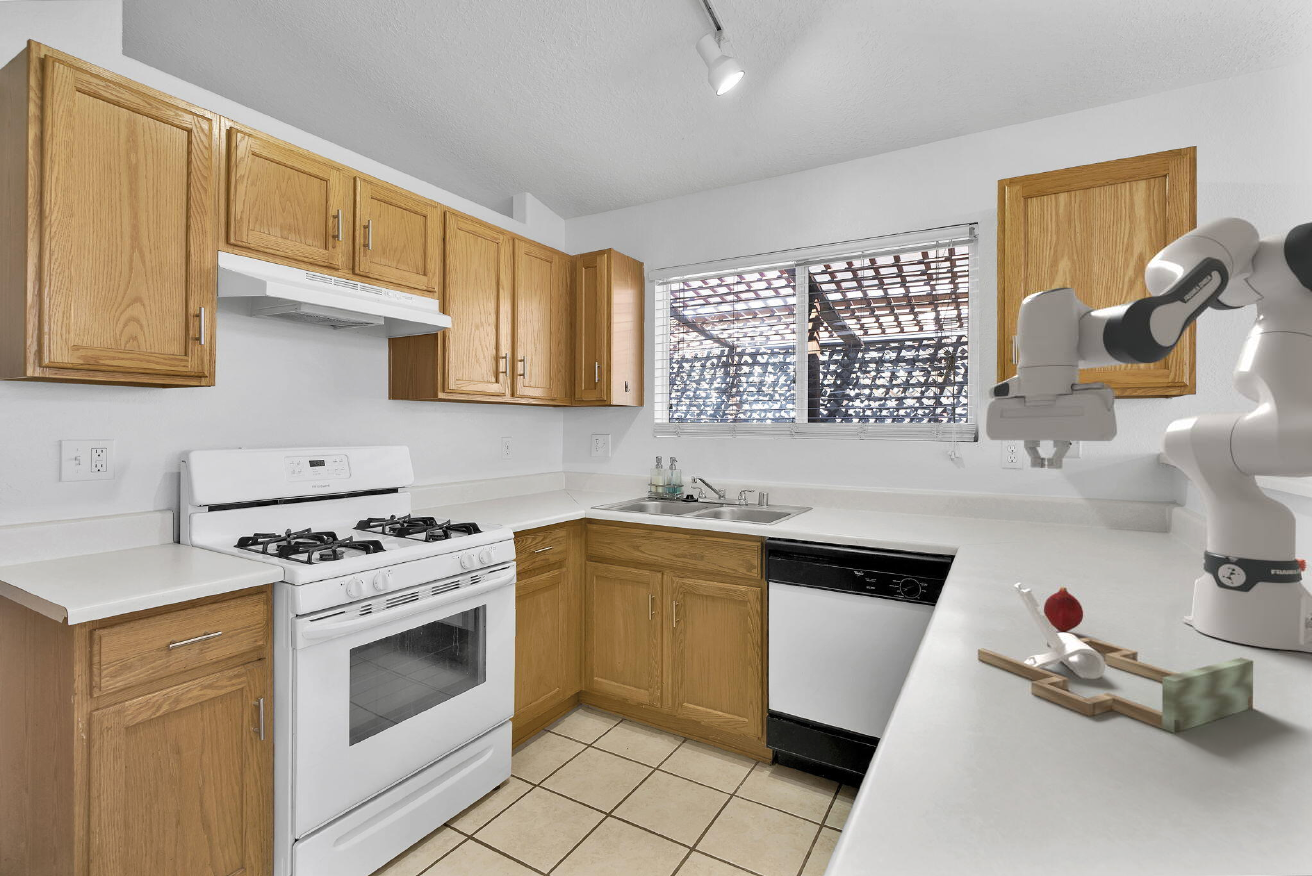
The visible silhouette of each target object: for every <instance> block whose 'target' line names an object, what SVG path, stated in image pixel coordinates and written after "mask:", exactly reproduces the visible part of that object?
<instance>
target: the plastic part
mask: <svg viewBox="0 0 1312 876" xmlns="http://www.w3.org/2000/svg"><path fill="white" fill-rule="evenodd" d="M1013 586H1014V588H1015V590H1016V592H1017V594H1018V595H1019V596H1020V598H1021V600H1022V602H1023V603H1024V605H1025V606H1026V608H1027V610H1028V612H1029V613H1030V615H1031V617H1032V618H1033V620H1034V622H1035V623H1036V625H1037V627H1038V628H1039V630H1040V632H1041V634H1042V635H1043V637H1044V638H1045V641H1046V642H1048V643H1049V645H1050V646H1049V647H1050V649H1051V651H1049V652H1047V653H1043V654H1037V655H1031V656H1029V657H1027V659H1025V660H1024V662H1023V663H1026V664H1029V665H1032V666H1035V667H1037V668H1040V669H1043V668H1044V667H1045V668H1046V667H1049V666H1052V665H1056V664H1058V663H1061V662H1062V663H1063V664H1064V665H1065V666H1067V667H1068V668H1069V669H1070V670H1071V671H1073V672H1074V673H1075V674H1076V675H1077V676H1079V678H1082V679H1093V680H1094V679H1095V680H1097V679H1099V678H1100V677H1102V676H1103V675H1104V673H1105V670H1106V662H1105V661H1104V659H1103V657H1102V656H1101V655H1100V654H1099V653H1098V652H1096V651H1095V650H1094V649H1092V648H1091V647H1090V646H1088V645H1087V644H1085V643H1083V642H1082V641H1080V639H1081V638H1079V637H1078V636H1076V635H1075V634H1072V633H1069V632H1065V633H1062V632H1057V631H1056V628H1055V627H1054V626H1053V625H1052V624H1051V623H1050V621H1049V620H1048V618H1047V617H1046V615H1045V614H1044V613H1043V614H1041V613H1040V611H1039V610H1038V608H1039V607H1040V604H1039V603H1038V601H1037V600H1036V598H1035V597H1034V594H1033V593H1032V589H1030V588H1027V589H1023V588H1022V583H1020V582H1017V583H1016V584H1014V585H1013Z"/></svg>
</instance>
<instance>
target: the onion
mask: <svg viewBox="0 0 1312 876" xmlns="http://www.w3.org/2000/svg"><path fill="white" fill-rule="evenodd" d="M1043 614H1045V615H1046V617H1047V618H1048V620H1049V621H1050V623H1051V624H1052V626H1053V627H1054V629H1055V630H1058V632H1059V633H1068V632H1069V631H1071V630H1073V629H1075V628H1077V627H1078V626H1079V625H1080V624H1081V623H1082V621H1083V618H1084V610H1083V606H1082V605H1081V603H1080V601H1079V600H1078V599H1077V598H1076V597H1075V596H1073V594H1070V593H1069V592H1068V590H1067V587H1065V586H1061V587H1059V590H1058V591H1057V592H1055V593H1053V594H1051V595H1050V596H1049V597H1048V598H1046V600H1045V602H1044V606H1043Z"/></svg>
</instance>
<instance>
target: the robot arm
mask: <svg viewBox="0 0 1312 876" xmlns="http://www.w3.org/2000/svg"><path fill="white" fill-rule="evenodd" d="M1144 271H1145V272H1144V283H1145V286H1146V288H1147V290H1148V292H1149V293H1150V295H1151V296H1147V297H1144V298H1143V297H1141V298H1140V299H1135V300H1131V301H1129V302H1125V303H1122V304H1118V305H1117V304H1116V305H1113V306H1109V307H1104V308H1100V309H1096V308H1093V307H1090V306H1089V305H1086V304H1085V303H1083V302H1082V301H1081V300H1080V299H1079V298H1078V297H1077V295H1076V292H1075V289H1074V288H1072V287H1057V288H1051V289H1048V290H1043V291H1038V292H1036V293H1032V294H1030V295H1028V296H1027V297H1026V298H1024V299H1023V300H1022V302H1021V305H1020V307H1019V311H1018V318H1017V326H1016V327H1017V329H1016V347H1017V349H1018V352H1019V353H1018V354H1019V358H1018V363H1017V365H1016V375H1015V376H1012V377H1011V378H1008V379H1006V380H1004V381H1002V382H999V383H997V384H994V385H992V386H990V387H989V389H988V396H989V398H990V399H992V400H991V401H990V403H989V404H988V406H987V410H986V411H987V412H986V419H985V420H986V421H985V422H986V424H985V426H986V427H985V428H986V429H985V432H986V433H985V434H986V435H987V437H988V438H989V439H990V441H1023V447H1024V450H1025V451H1026V454H1027V455H1028V456H1029V458H1030V467H1031V468H1033V469H1045V468H1046V467H1047V469H1051V470H1052V469H1053V470H1061V469H1063V459H1064V458H1065V456H1066V454H1067V453H1068V452H1069V450H1070V449H1071V442H1074V441H1075V442H1111V441H1113V440H1114V439H1115V437H1116V436H1117V432H1118V426H1117V425H1118V424H1117V417H1116V411H1115V395H1116V394H1115V391H1114V389H1113V388H1112V387H1111V386H1110V385H1108V384H1106V383H1105V382H1100V381H1096V382H1093V383H1091V382H1090V383H1088V382H1087V383H1086V382H1082V383H1079V382H1080V369H1081V370H1084V369H1085V370H1086V369H1094V368H1103V367H1112V366H1120V365H1137V364H1138V365H1139V364H1153V363H1158V362H1160V361H1162V360H1164V359H1166V357H1168V356H1169V355H1170V354H1171V353H1172V352H1173V350H1174V349H1176V347H1177V345H1178V343H1179V342H1180V340H1181V338H1182V336H1183V335H1184V333H1185V332H1186V330H1187V329H1188V328H1189V326H1191V324H1193V322H1194V321H1196V320H1197V318H1199V316H1200V315H1202V314H1203V313H1204V312H1205V311H1206V310H1207V309H1208V308H1210V309H1212V310H1216V311H1230V310H1237V309H1242V308H1244V307H1246V306H1251V305H1256V312H1257V314H1256V315H1257V316H1256V318H1255V320H1254V322H1253V324H1252V325H1251V327H1250V329H1249V332H1248V334H1247V335H1246V338H1245V341H1244V343H1243V345H1242V348H1241V351H1240V354H1239V357H1238V359H1237V362H1236V365H1235V367H1234V370H1233V373H1232V376H1231V378H1232V383H1233V386H1234V388H1235V389H1236V391H1237V392H1238V393H1239V394H1241V395H1242V396H1243V397H1245V398H1247V399H1249V400H1250V401H1252V402H1255V403H1258V405H1257V407H1256V408H1255V409H1254V410H1253V411H1248V412H1225V413H1224V412H1220V413H1217V412H1216V413H1215V412H1214V413H1211V412H1210V413H1202V414H1197V415H1191V416H1187V417H1183V418H1178V419H1175V420H1174V421H1172V422H1171V423H1170V424H1169V425H1168V427H1167V428H1166V430H1165V432H1164V434H1163V436H1162V443H1161V445H1162V450H1163V453H1164V455H1165V457H1166V459H1167V460H1168V462H1170V464H1171V465H1173V466H1174V467H1175V468H1177V469H1178V470H1180V471H1181V472H1183V473H1184V474H1185V475H1186V476H1187V477H1188V478H1189V480H1190V481H1191V482H1192V483H1193V485H1194V486H1195V487H1196V489H1197V491H1198V493H1199V495H1200V497H1201V499H1202V503H1203V505H1204V510H1205V519H1206V520H1205V521H1206V535H1207V536H1206V537H1207V538H1206V539H1207V540H1206V541H1207V542H1206V543H1207V544H1206V550H1205V551H1204V553H1203V558H1202V563H1203V571H1204V572H1205V573H1204V574H1203V575H1202V576H1200V577H1199V578H1197V579H1196V580H1195V583H1194V590H1193V599H1192V608H1191V609H1192V610H1191V615H1185V616H1183V621H1182V622H1183V623H1185V624H1187V625H1190V626H1192V627H1193V628H1194V629H1195V630H1196V631H1197V632H1200V633H1202V634H1204V635H1207V636H1210V637H1214V638H1217V639H1221V640H1225V641H1229V642H1233V643H1237V644H1243V645H1247V646H1248V645H1249V646H1254V647H1259V648H1267V649H1276V650H1277V649H1278V650H1287V651H1289V650H1290V651H1299V652H1306V653H1312V594H1311V592H1309V590H1308V589H1307V588H1306V587H1305V586H1304V585H1303V584H1302V582H1301V581H1303V576H1302V572H1304V571H1306V568H1307V562H1306V560H1305V559H1303V558H1299V559H1298V558H1296V548H1297V547H1296V540H1297V539H1296V533H1297V532H1296V531H1297V529H1296V528H1297V525H1296V523H1297V522H1296V521H1297V519H1296V517H1295V515H1294V513H1293V512H1292V511H1291V509H1290V508H1288V506H1286V505H1285V504H1283V503H1282V502H1280V501H1278V500H1276V499H1274V498H1272V497H1269V496H1268V495H1266V494H1265V493H1264V492H1263V491H1262V490H1261V489H1260V487H1259V485H1258V484H1257V481H1256V476H1258V477H1260V476H1262V477H1279V478H1281V477H1282V478H1298V479H1299V478H1300V479H1301V478H1311V477H1312V221H1311V222H1307V223H1302V224H1299V225H1298V224H1297V225H1296V226H1294V227H1293V228H1290V229H1286V230H1284V231H1279V232H1277V233H1273V234H1271V235H1268V236H1267V235H1266V236H1265V237H1262V238H1260V235H1259V232H1258V230H1257V228H1256V227H1255V226H1254V225H1253V224H1252V223H1250V222H1249V221H1247V220H1245V219H1242V218H1238V217H1223V218H1222V217H1221V218H1218V219H1215V220H1211V221H1210V222H1207V223H1205V224H1202V225H1199V226H1198V227H1195V228H1194V229H1192V230H1190V231H1189V232H1186V233H1185V234H1183V235H1182V236H1180V237H1178V238H1177V239H1175V240H1174V241H1172V242H1171V243H1170V244H1168V245H1167V246H1166V247H1164V248H1163V249H1161V250H1160V251H1159V252H1158V253H1157V254H1156V255H1155V256H1154V257H1153V258H1152V259H1151V260H1150V262H1149V263H1148V264H1147V265H1146V267H1145V270H1144ZM1041 441H1043V442H1045V441H1047V442H1048V441H1050V442H1051V441H1052V442H1053V443H1052V444H1053V448H1055V450H1054V453H1053V454H1052V457H1042V455H1041V453H1040V452H1039V450H1038V448H1040V447H1041Z"/></svg>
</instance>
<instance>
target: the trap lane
mask: <svg viewBox="0 0 1312 876" xmlns="http://www.w3.org/2000/svg"><path fill="white" fill-rule="evenodd" d="M1079 639H1080V641H1082V642H1083V643H1085V644H1087V645H1088V646H1090V647H1091V648H1092V649H1094V650H1095V651H1096V652H1098V653H1099V654H1100V655H1101V656H1102V657H1103V659H1104V661H1105V665H1107V666H1111V667H1114V668H1116V669H1120V670H1122V671H1125V672H1126V671H1127V672H1129V673H1133V674H1135V675H1139V676H1141V677H1144V678H1147V679H1148V678H1149V679H1151V680H1153V681H1157V682H1161V683H1162V688H1161V689H1162V695H1161V696H1162V698H1161V700H1162V701H1161V702H1162V705H1161V706H1162V708H1161V710H1162V711H1161V710H1157V709H1155V708H1151V707H1149V706H1146V705H1143V704H1141V703H1138V702H1136V701H1132V700H1130V699H1126V698H1124V697H1121V696H1118V695H1116V694H1112V693H1109V692H1106V693H1101V694H1099V695H1094V696H1090V697H1084V696H1082V695H1079V694H1077V693H1074V692H1072V691H1069V689H1070V688H1069V677H1064V676H1062V675H1060V674H1056V673H1054V672H1051V671H1049V670H1045V669H1043V668H1041V669H1040V668H1037V667H1035V666H1032V665H1029V664H1026V663H1024V662H1022V661H1020V660H1017V659H1014V658H1012V657H1009V656H1006V655H1003V654H1001V653H998V652H995V651H992V650H990V649H987V648H978V649H977V660H980V661H983V662H985V663H987V664H990V665H992V666H995V667H998V668H1000V669H1003V670H1006V671H1009V672H1011V673H1014V674H1016V675H1020V676H1022V677H1024V678H1027V679H1029V680H1032V681H1031V686H1030V687H1031V689H1030V690H1031V694H1033V695H1035V696H1038V697H1041V698H1042V699H1045V700H1047V701H1050V702H1053V703H1055V704H1058V705H1061V706H1062V707H1065V708H1068V709H1071V710H1072V711H1075V712H1077V713H1080V714H1082V715H1084V716H1087V717H1092V716H1095V715H1100V714H1101V713H1102V714H1103V713H1106V712H1110V711H1114V712H1117V713H1120V714H1123V715H1125V716H1128V717H1131V718H1133V719H1136V720H1138V721H1140V722H1144V723H1146V724H1149V725H1152V726H1154V727H1157V728H1159V729H1162V730H1164V731H1168V732H1170V733H1172V734H1177V733H1179V732H1182V731H1185V730H1188V729H1192V728H1194V727H1199V726H1201V725H1203V724H1208V723H1210V722H1214V721H1216V720H1219V719H1222V718H1226V717H1229V716H1232V715H1236V714H1239V713H1241V712H1244V711H1248V710H1251V709H1253V707H1254V660H1252V659H1248V658H1243V657H1239V658H1233V659H1230V660H1227V661H1223V662H1218V663H1214V664H1210V665H1207V666H1204V667H1198V668H1195V669H1191V670H1187V671H1184V672H1174V671H1171V670H1167V669H1165V668H1161V667H1158V666H1154V665H1152V664H1148V663H1144V662H1141V661H1138V651H1136V650H1133V649H1129V648H1126V647H1123V646H1119V645H1115V644H1112V643H1108V642H1105V641H1101V640H1098V639H1095V638H1091V637H1087V636H1086V637H1082V638H1079ZM1046 642H1047V641H1046ZM1046 646H1048V647H1050V645H1049V643H1048V642H1047V643H1046Z"/></svg>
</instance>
